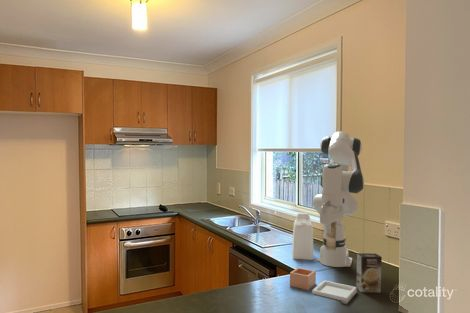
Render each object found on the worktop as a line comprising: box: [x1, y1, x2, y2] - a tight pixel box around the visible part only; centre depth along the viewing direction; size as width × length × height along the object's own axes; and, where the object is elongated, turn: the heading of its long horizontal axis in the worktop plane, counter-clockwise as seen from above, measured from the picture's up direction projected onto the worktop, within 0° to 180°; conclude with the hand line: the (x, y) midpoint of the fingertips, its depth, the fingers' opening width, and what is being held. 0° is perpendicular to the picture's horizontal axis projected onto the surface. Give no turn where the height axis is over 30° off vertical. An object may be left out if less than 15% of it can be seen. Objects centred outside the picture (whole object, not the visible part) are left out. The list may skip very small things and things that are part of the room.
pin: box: [326, 222, 336, 251], centre depth 161 cm, size 4×4×12 cm
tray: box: [311, 279, 358, 305], centre depth 160 cm, size 15×15×2 cm
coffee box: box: [355, 252, 383, 293], centre depth 166 cm, size 9×6×16 cm
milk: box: [291, 212, 315, 261], centre depth 218 cm, size 12×12×26 cm
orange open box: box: [289, 267, 317, 291], centre depth 168 cm, size 9×9×7 cm
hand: (331, 231), depth 161 cm, fingers closed on pin, 4 cm apart
